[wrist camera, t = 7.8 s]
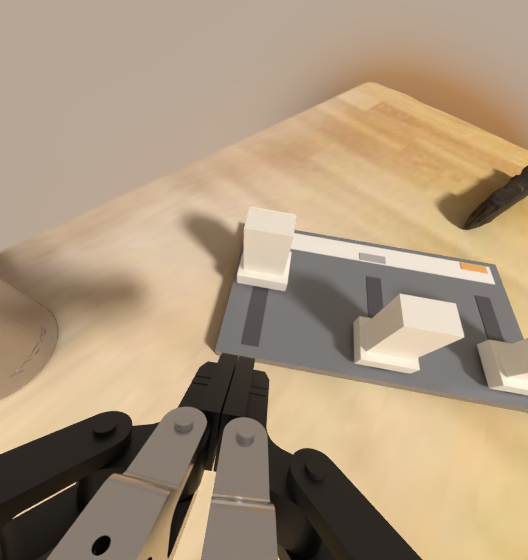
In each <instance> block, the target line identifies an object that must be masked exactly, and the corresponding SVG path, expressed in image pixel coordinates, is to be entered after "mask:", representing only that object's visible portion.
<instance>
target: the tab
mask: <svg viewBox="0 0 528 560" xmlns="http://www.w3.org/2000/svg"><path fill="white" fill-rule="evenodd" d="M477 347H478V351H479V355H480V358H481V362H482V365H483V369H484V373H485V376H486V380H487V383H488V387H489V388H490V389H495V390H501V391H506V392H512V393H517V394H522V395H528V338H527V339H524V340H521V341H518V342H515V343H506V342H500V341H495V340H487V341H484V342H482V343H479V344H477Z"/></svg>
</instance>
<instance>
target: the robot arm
mask: <svg viewBox="0 0 528 560" xmlns="http://www.w3.org/2000/svg"><path fill="white" fill-rule="evenodd" d="M57 338H58V327H57V323H56V319H55V318H54V316H53V315H52V313H51V312H49V311H48V310H47V309H46V308H44V307H43V306H41V305H40V304H38V303H37V302H35V301H34V300H32V299H30V298H29V297H27V296H26V295H24V294H23V293H21V292H20V291H18V290H17V289H15V288H14V287H12V286H11V285H9V284H8V283H6V282H4V281H3V280H1V279H0V399H1V398H3V397H6V396H8V395H10V394H11V393H13V392H15V391H17V390H18V389H20V388H21V387H23V386H24V385H25V384H26V383H28V382H29V381H30V380H32V379H33V378H34V377H35V376H36V375H37V374H38V373H39V371H40V370H41V369H42V368H43V367H44V365H45V364H46V363H47V361H48V360H49V358H50V357H51V355H52V352H53V350H54V348H55V345H56V342H57ZM254 362H255V358H252V357H246V356H241V355H239V358H238V355H235V354H229V353H224V352H222V354H221V356H220V358H219V361H218V363H214V362H206V363H205V364H204V365H202V366H201V367H200V368H199V369H198V371H197V373H196V375H195V377H194V379H193V380H192V383H191V384H190V386H189V388H188V390H187V392H186V393H185V395H184V397H183V399H182V401H181V403H180V404H179V406H178V408H176V409H174V410H172V411H170V412H168V413H167V414H166V415H165V416H164V417H163V419H162V420H161V422H159V423H155V424H149V425H137V426H132V420H131V418H130V417H129V416H128V415H127V414H125V413H123V412H119V411H109V412H104V413H100V414H98V415H95V416H93V417H90V418H88V419H85V420H83V421H80V422H78V423H75V424H73V425H71V426H68V427H66V428H63V429H61V430H58V431H56V432H54V433H51V434H49V435H46V436H44V437H41V438H39V439H36V440H34V441H32V442H29V443H27V444H24V445H22V446H19V447H17V448H15V449H12V450H10V451H7V452H5V453H2V454H0V560H173V557H174V554H175V552H176V549H177V546H178V544H179V541H180V538H181V536H182V533H183V530H184V528H185V525H186V522H187V520H188V517H189V514H190V512H191V509H192V507H193V504H194V501H195V499H196V496H197V492H198V487H199V485H200V482H201V479H202V476H203V473H204V470H209V471H212V467H213V463H214V460H215V464H214V471H215V472H216V477H215V483H214V489H213V495H212V499H211V505H210V510H209V516H208V522H207V528H206V534H205V539H204V545H203V551H202V557H201V560H278V557H279V559H280V560H422V559H421V558H420V557H419V556H418V554H417V553H416V552H415V551H414V550H413V549H412V548H411V547H410V546H409V545H408V544H407V542H406V541H405V540H404V539H403V538H402V537H401V536H400V535H399V534H398V533H397V532H396V530H395V529H394V528H393V527H392V526H391V525H390V524H389V523H388V522H387V521H386V520H385V518H384V517H383V516H382V515H381V514H380V513H379V512H378V511H377V510H376V509H375V508H374V506H373V505H372V504H371V503H370V502H369V501H368V500H367V499H366V498H365V497H364V495H363V494H362V493H361V492H360V491H359V490H358V489H357V488H356V487H355V486H354V485H353V483H352V482H351V481H350V480H349V479H348V478H347V477H346V476H345V475H344V474H343V473H342V471H341V470H340V469H339V468H338V467H337V466H336V465H335V464H334V463H333V462H332V461H331V460H330V459H329V458H328V457H327V456H326V455H325V454H323V453H322V452H320V451H317V450H315V449H310V448H304V449H300V450H298V451H296V452H295V453H294V454H293V455H292V454H290V453H288V452H287V451H285V450H283V449H281V448H279V447H278V446H277V445H276V444H274V443H273V441H272V440H271V439H270V437H269V436H268V433H267V429H266V422H267V407H268V391H269V379H268V377H267V375H266V373H265V372H263V371H258V370H253V368H254ZM215 456H216V458H215ZM75 482H76V484H75V485H73V486H72V487H70V488H68V489H66V490H64V491H63V492H61V493H59V494H57V495H56V496H54V497H52V498H50V499H48V500H47V501H45V502H43V503H41V504H39V505H38V506H36V507H34V508H32V509H30V510H29V511H27V512H25V513H23V514H21V515H20V516H18V517H16V518H14V517H15V516H16V515H18V514H19V513H21V512H22V511H24V510H26V509H28V508H30V507H31V506H33V505H35V504H37V503H39V502H40V501H42V500H44V499H46V498H48V497H49V496H51V495H53V494H55V493H57V492H59V491H60V490H62V489H64V488H66V487H68V486H69V485H71V484H73V483H75ZM12 518H14V519H12Z"/></svg>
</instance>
